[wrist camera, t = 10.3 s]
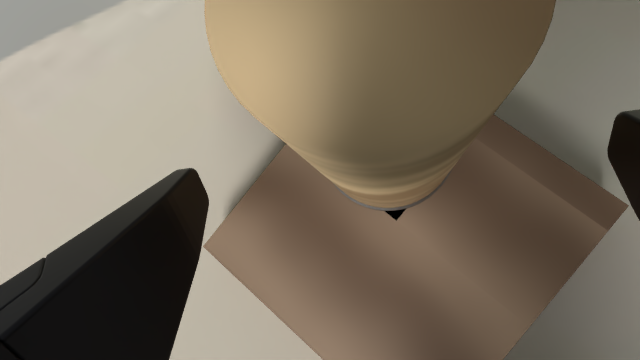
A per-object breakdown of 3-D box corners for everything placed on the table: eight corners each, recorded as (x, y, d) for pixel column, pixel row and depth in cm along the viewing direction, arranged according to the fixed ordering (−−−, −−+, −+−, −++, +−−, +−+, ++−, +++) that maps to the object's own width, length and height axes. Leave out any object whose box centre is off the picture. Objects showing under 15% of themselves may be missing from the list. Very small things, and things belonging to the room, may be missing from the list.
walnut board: (421, 431, 17) (424, 455, 15) (222, 245, 20) (203, 246, 18) (602, 209, 17) (628, 205, 15) (376, 53, 20) (374, 33, 18)
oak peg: (396, 239, 18) (392, 240, 6) (305, 162, 20) (137, 25, 7) (477, 143, 18) (653, -69, 6) (380, 72, 20) (346, -229, 7)
